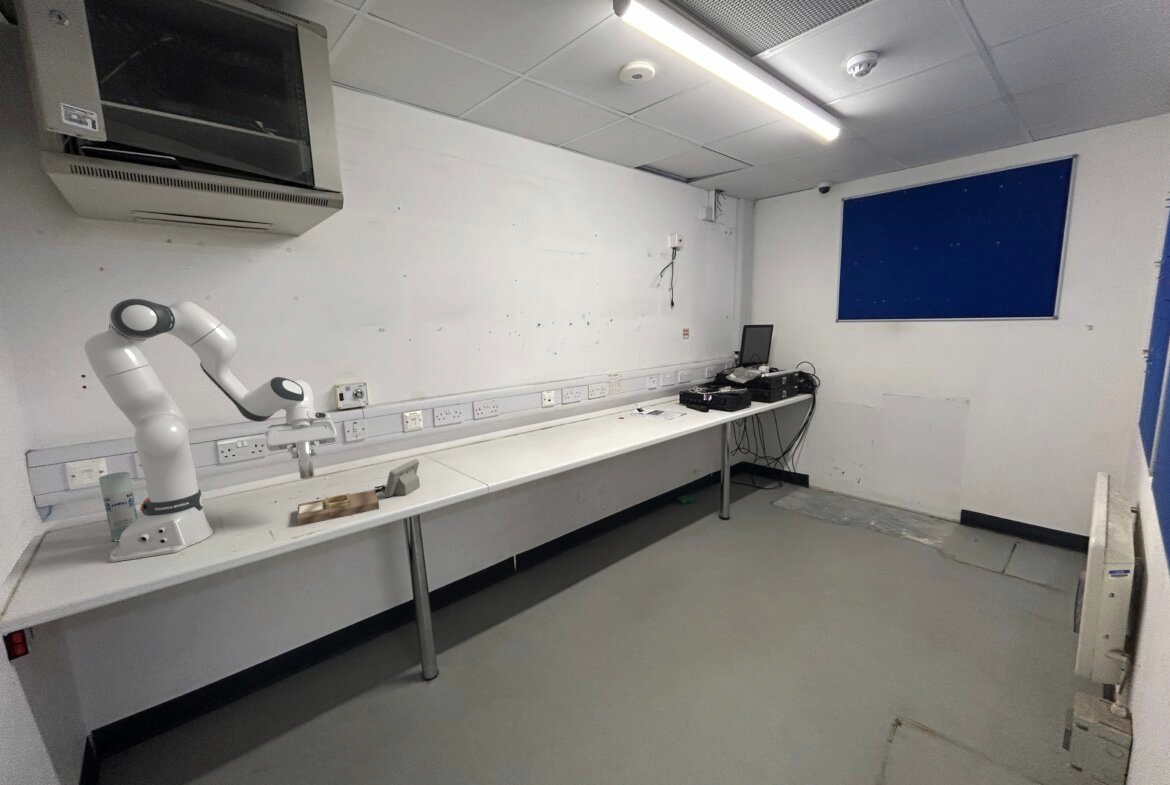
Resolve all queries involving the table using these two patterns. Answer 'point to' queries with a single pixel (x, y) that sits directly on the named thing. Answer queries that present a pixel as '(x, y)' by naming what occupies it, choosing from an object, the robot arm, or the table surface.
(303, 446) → the steel pin
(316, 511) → the wooden peg board
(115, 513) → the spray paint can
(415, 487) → the digital clock
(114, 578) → the table surface
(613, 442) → the table surface
